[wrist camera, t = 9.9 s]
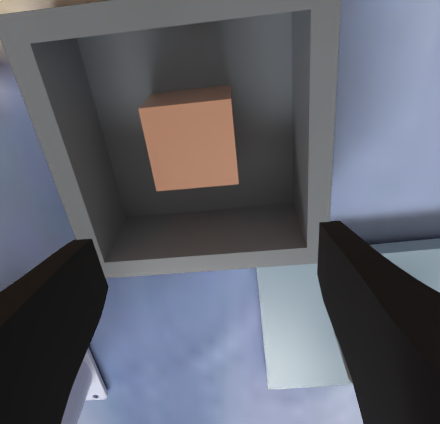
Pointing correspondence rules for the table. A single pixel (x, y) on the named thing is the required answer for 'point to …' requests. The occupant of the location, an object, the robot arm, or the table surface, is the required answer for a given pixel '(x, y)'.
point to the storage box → (173, 81)
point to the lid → (320, 316)
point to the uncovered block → (191, 138)
